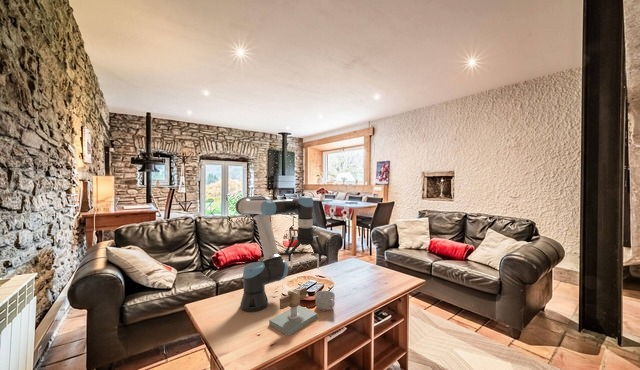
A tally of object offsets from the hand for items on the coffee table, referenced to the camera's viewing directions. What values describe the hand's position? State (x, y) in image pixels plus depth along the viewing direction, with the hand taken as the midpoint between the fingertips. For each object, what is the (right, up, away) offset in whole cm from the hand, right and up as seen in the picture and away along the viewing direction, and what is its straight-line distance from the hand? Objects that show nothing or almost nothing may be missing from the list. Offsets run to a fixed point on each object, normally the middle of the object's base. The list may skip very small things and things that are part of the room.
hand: (304, 267), depth 135 cm
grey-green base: (-5, -26, -3) cm, 27 cm away
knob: (-5, -18, -3) cm, 19 cm away
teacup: (+11, -26, +9) cm, 30 cm away
